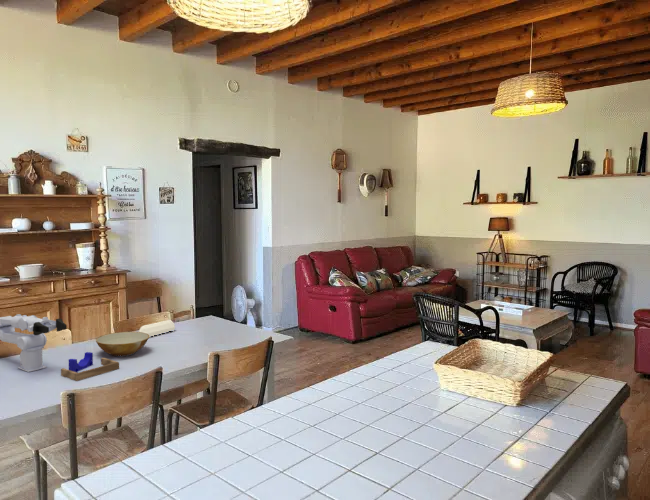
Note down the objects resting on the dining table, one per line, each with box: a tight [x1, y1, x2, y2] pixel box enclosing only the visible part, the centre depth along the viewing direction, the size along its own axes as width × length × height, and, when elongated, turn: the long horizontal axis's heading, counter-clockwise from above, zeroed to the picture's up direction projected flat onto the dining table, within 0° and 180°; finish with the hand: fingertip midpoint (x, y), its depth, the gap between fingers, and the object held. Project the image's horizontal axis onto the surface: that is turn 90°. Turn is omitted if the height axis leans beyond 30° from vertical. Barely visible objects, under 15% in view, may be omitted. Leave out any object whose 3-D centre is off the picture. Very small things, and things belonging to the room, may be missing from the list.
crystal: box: [138, 319, 176, 338], centre depth 283 cm, size 7×7×24 cm
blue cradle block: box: [68, 351, 94, 373], centre depth 221 cm, size 12×4×6 cm, turn 169°
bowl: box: [95, 331, 150, 357], centre depth 245 cm, size 25×25×8 cm
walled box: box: [60, 357, 120, 382], centre depth 216 cm, size 12×20×3 cm, turn 147°
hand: (57, 328), depth 208 cm, fingers open, 7 cm apart
